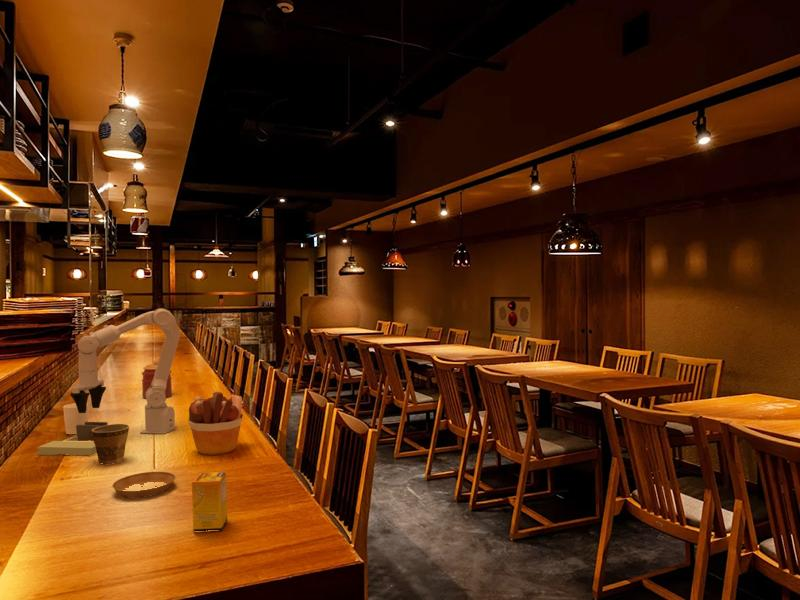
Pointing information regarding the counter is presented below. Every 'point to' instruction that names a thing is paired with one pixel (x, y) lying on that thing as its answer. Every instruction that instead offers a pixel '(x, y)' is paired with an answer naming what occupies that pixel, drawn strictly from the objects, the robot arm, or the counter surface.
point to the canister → (148, 378)
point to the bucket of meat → (215, 423)
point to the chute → (87, 429)
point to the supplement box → (209, 501)
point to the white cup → (74, 418)
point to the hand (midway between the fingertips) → (89, 410)
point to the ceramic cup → (110, 442)
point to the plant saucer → (142, 479)
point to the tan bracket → (68, 447)
